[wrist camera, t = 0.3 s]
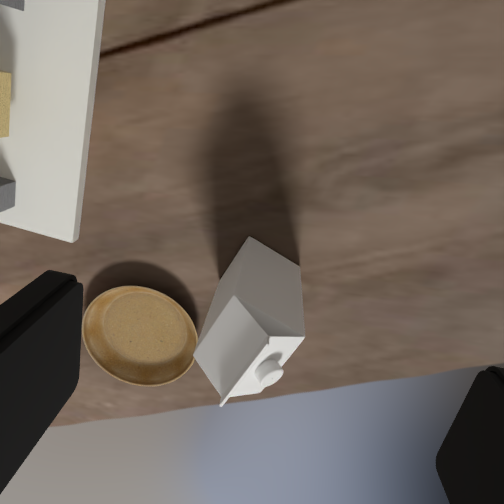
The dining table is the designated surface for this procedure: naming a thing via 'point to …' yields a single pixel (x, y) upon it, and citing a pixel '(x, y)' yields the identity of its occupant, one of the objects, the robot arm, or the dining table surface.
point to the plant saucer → (139, 335)
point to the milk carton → (252, 322)
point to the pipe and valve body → (7, 120)
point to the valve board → (49, 110)
